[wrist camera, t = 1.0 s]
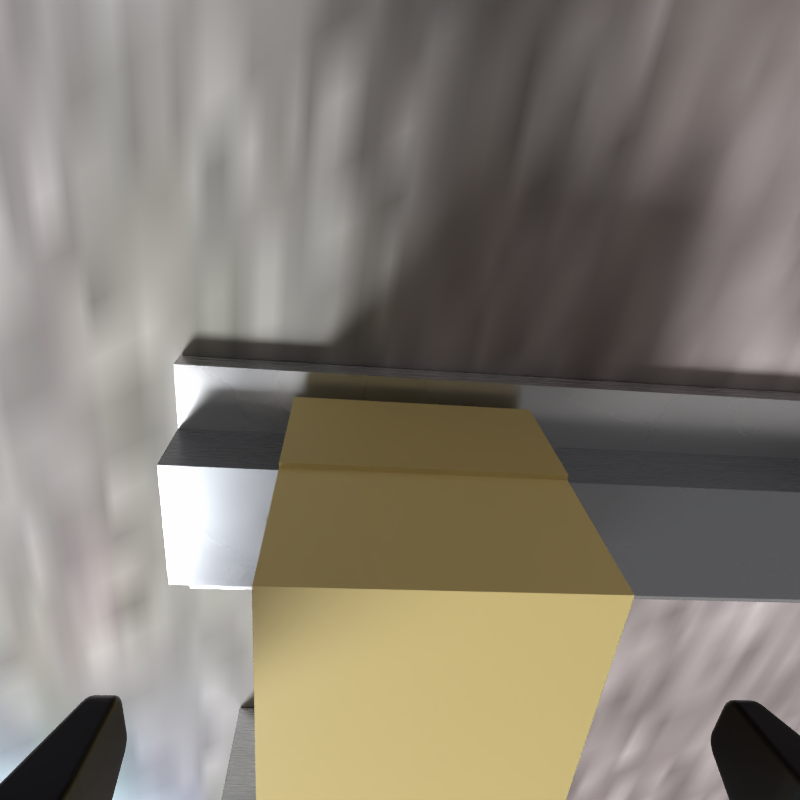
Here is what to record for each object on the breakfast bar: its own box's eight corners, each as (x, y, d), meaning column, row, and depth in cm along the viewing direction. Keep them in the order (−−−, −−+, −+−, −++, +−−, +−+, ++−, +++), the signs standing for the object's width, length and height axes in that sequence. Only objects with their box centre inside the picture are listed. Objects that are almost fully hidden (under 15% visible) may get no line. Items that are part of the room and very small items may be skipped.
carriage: (529, 409, 13) (636, 589, 8) (491, 594, 15) (557, 826, 10) (294, 396, 12) (251, 580, 7) (291, 590, 14) (256, 830, 10)
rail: (1088, 410, 15) (1190, 450, 13) (969, 594, 17) (1040, 649, 15) (179, 355, 13) (150, 395, 11) (195, 574, 15) (173, 636, 13)
